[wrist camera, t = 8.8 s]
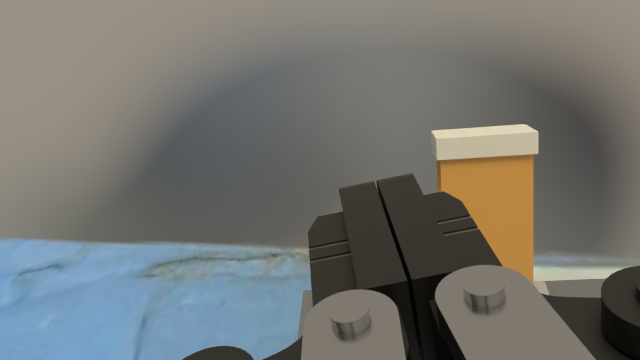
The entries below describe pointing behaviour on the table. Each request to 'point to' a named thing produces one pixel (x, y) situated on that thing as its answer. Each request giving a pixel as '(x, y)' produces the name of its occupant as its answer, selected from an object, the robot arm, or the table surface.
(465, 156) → the rocker lever
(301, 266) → the table surface
